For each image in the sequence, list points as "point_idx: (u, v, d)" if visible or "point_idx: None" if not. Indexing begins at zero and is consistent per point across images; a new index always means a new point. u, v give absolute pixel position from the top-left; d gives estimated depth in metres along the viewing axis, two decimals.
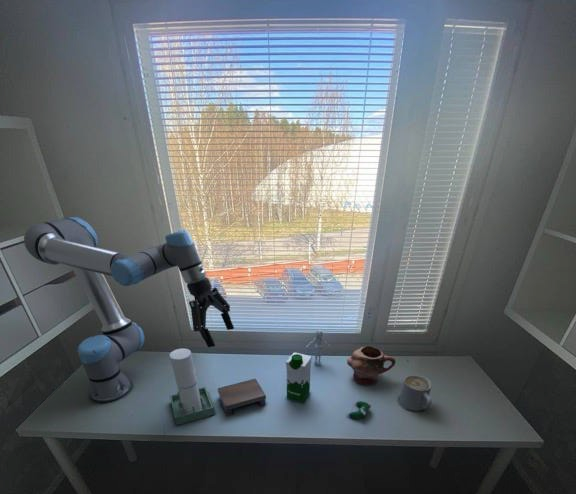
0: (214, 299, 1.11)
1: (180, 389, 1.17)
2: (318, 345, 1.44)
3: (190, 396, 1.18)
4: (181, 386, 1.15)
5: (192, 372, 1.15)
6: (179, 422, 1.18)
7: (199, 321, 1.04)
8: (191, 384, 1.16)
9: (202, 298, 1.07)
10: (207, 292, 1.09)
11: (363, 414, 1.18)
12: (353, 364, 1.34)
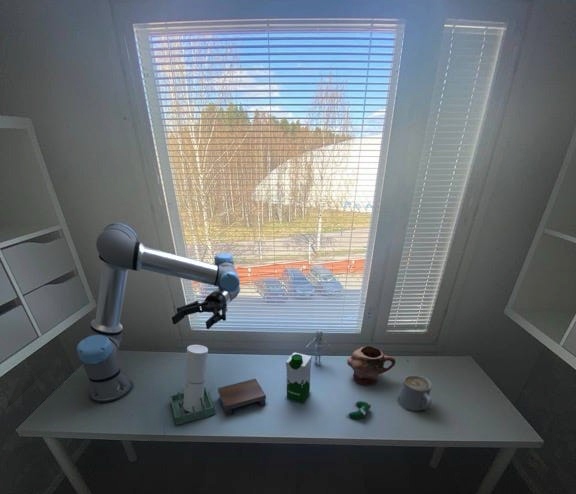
0: None
1: (187, 384, 1.17)
2: (318, 345, 1.44)
3: (195, 393, 1.19)
4: (189, 381, 1.16)
5: (204, 369, 1.16)
6: (179, 422, 1.18)
7: None
8: (200, 381, 1.17)
9: None
10: None
11: (363, 414, 1.18)
12: (353, 364, 1.34)
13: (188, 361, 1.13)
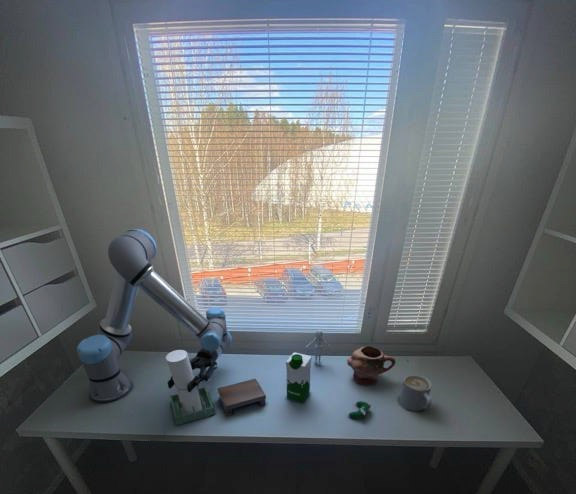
0: None
1: (178, 390, 1.16)
2: (318, 345, 1.44)
3: (189, 397, 1.18)
4: (179, 388, 1.15)
5: (189, 374, 1.13)
6: (179, 422, 1.18)
7: None
8: None
9: None
10: None
11: (363, 414, 1.18)
12: (353, 364, 1.34)
13: (171, 370, 1.11)
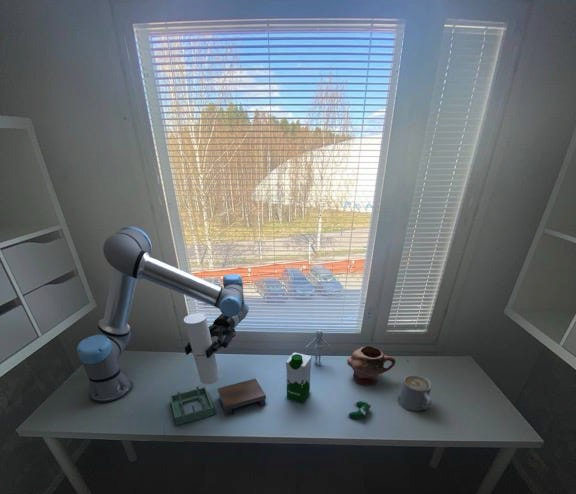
0: None
1: (196, 357, 1.10)
2: (318, 345, 1.44)
3: (207, 364, 1.12)
4: (197, 353, 1.09)
5: (208, 338, 1.07)
6: (179, 422, 1.18)
7: None
8: None
9: None
10: None
11: (363, 414, 1.18)
12: (353, 364, 1.34)
13: (189, 333, 1.05)
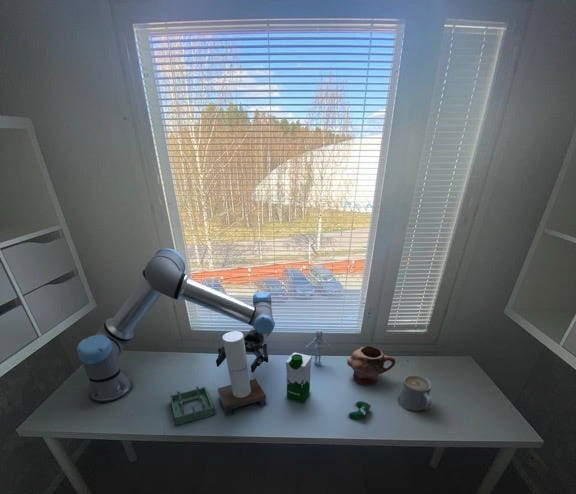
0: None
1: (232, 372, 1.17)
2: (318, 345, 1.44)
3: (241, 379, 1.18)
4: (233, 369, 1.15)
5: (244, 355, 1.14)
6: (179, 422, 1.18)
7: None
8: (243, 367, 1.16)
9: None
10: None
11: (363, 414, 1.18)
12: (353, 364, 1.34)
13: (227, 351, 1.12)
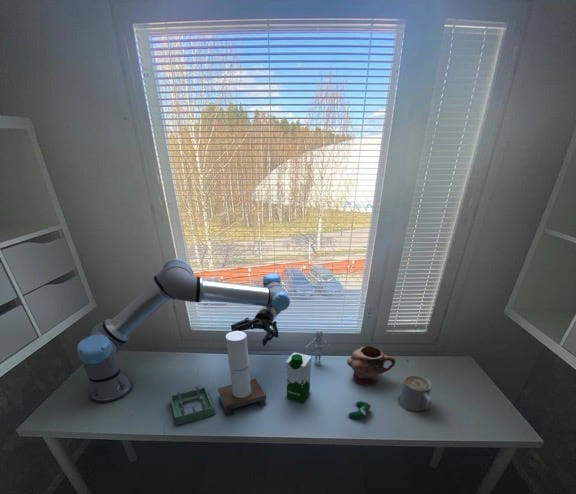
0: None
1: (233, 371, 1.17)
2: (318, 345, 1.44)
3: (242, 379, 1.19)
4: (234, 368, 1.16)
5: (246, 355, 1.15)
6: (179, 422, 1.18)
7: None
8: (244, 367, 1.16)
9: None
10: None
11: (363, 414, 1.18)
12: (353, 364, 1.34)
13: (229, 350, 1.12)
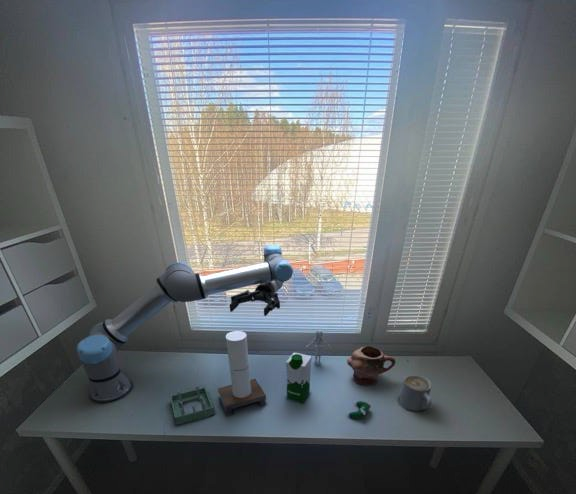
0: None
1: (233, 371, 1.17)
2: (318, 345, 1.44)
3: (242, 379, 1.19)
4: (234, 368, 1.16)
5: (246, 355, 1.15)
6: (179, 422, 1.18)
7: None
8: (244, 367, 1.16)
9: None
10: None
11: (363, 414, 1.18)
12: (353, 364, 1.34)
13: (229, 350, 1.12)
